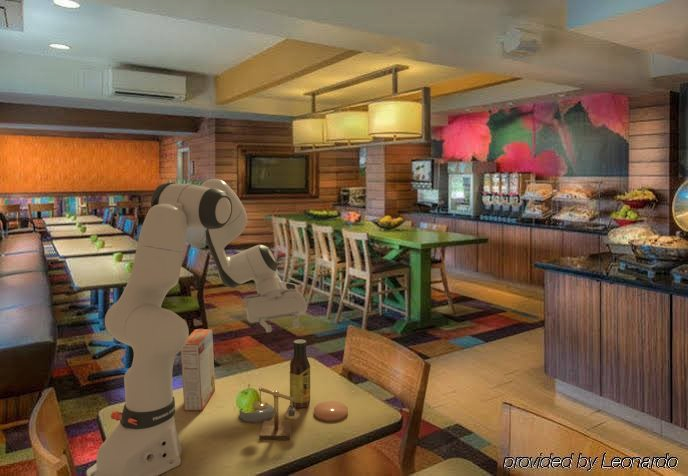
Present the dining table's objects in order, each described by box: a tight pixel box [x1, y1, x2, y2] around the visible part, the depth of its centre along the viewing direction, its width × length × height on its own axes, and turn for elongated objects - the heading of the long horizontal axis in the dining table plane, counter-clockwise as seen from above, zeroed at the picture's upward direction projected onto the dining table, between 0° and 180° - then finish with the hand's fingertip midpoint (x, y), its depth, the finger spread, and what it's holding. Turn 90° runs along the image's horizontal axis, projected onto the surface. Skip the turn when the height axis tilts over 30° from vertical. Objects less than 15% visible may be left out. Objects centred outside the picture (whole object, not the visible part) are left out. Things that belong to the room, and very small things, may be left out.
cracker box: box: [180, 328, 216, 412], centre depth 161 cm, size 14×6×21 cm, turn 178°
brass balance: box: [252, 387, 300, 441], centre depth 143 cm, size 13×8×13 cm, turn 90°
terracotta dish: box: [313, 400, 349, 422], centre depth 155 cm, size 10×10×1 cm
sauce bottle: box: [289, 338, 311, 409], centre depth 159 cm, size 7×6×20 cm
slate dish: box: [239, 403, 274, 424], centre depth 154 cm, size 10×10×1 cm
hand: (283, 329), depth 168 cm, fingers open, 8 cm apart
